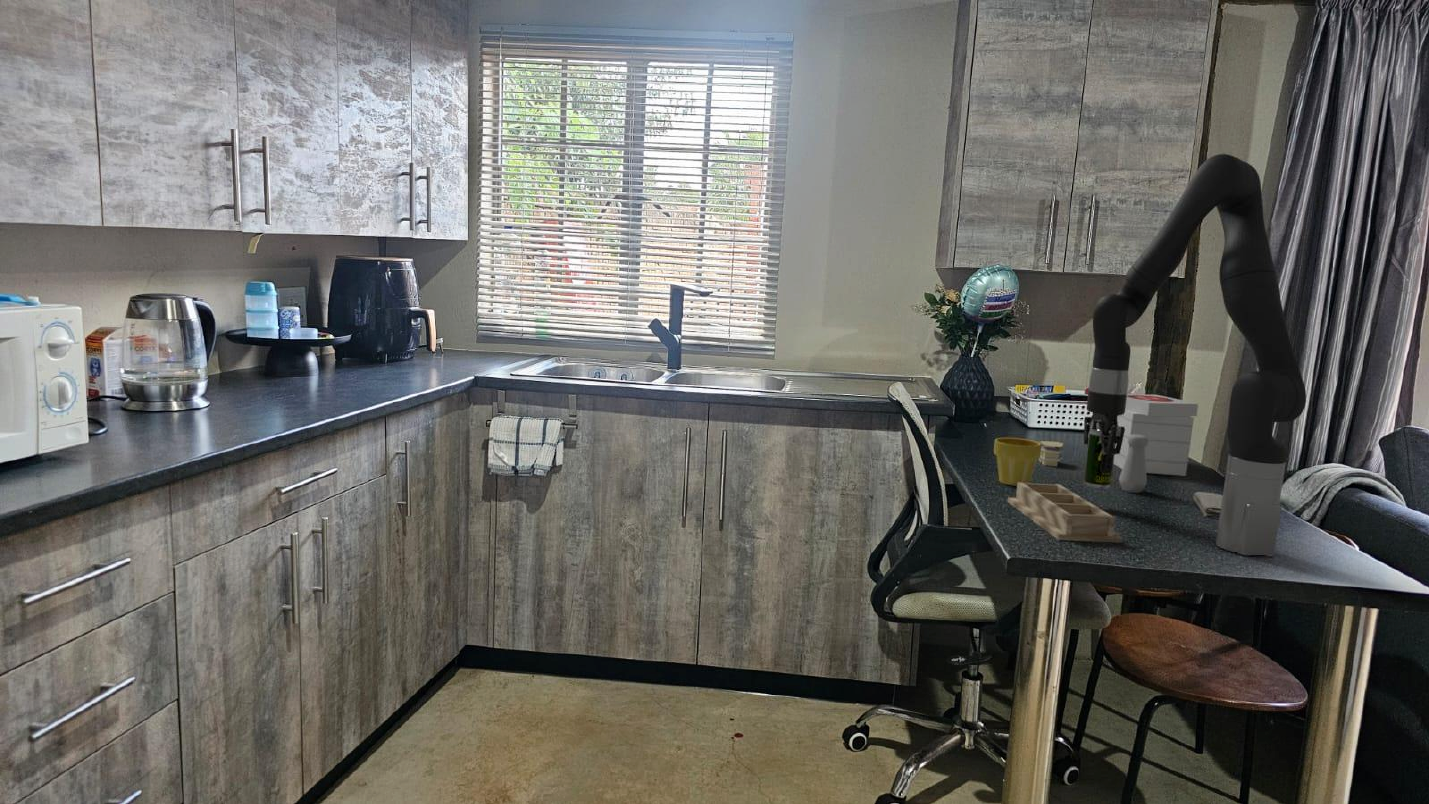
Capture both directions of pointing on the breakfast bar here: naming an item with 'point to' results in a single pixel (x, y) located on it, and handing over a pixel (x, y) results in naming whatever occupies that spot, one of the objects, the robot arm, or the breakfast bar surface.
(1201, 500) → the washcloth
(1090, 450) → the beer can
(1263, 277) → the robot arm
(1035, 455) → the plant pot
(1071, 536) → the wooden compartment organizer
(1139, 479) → the salt shaker
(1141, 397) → the pizza boxes
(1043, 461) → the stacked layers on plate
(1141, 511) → the breakfast bar surface
